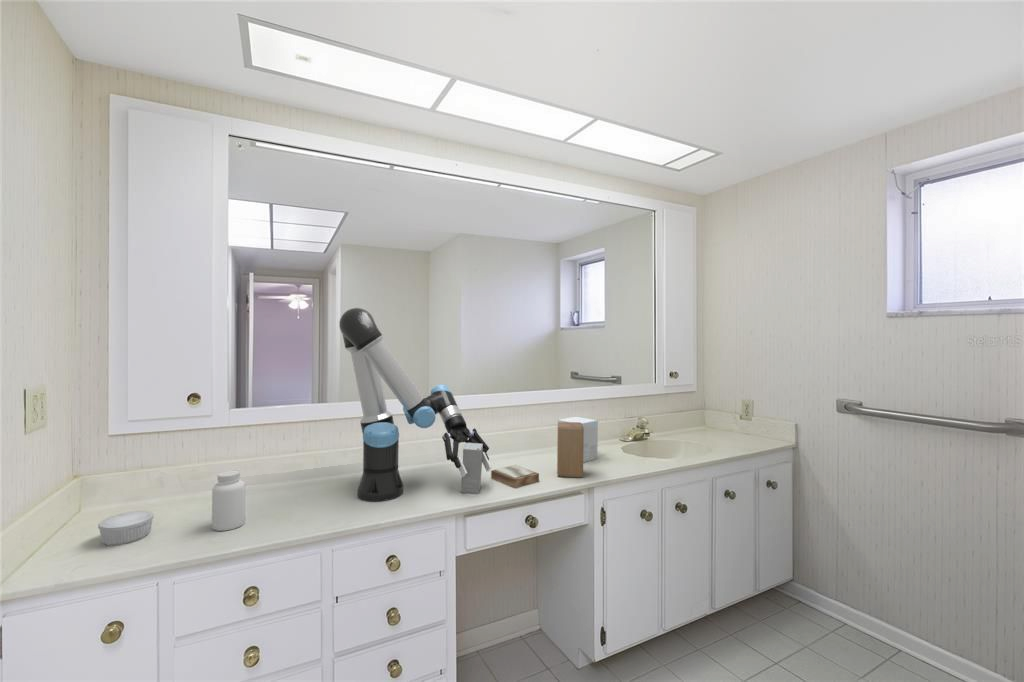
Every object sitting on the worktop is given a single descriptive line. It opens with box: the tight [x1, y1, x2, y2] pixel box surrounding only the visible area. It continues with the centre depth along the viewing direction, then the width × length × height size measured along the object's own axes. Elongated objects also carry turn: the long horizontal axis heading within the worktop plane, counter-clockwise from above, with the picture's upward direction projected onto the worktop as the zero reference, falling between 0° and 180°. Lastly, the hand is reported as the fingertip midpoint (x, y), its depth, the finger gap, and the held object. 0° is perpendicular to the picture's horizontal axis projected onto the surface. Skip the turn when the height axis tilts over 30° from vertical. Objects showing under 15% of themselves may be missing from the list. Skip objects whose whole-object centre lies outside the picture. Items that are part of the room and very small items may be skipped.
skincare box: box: [460, 442, 483, 494], centre depth 156 cm, size 8×7×16 cm
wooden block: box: [556, 422, 584, 479], centre depth 175 cm, size 10×10×20 cm
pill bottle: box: [211, 470, 246, 532], centre depth 125 cm, size 8×8×15 cm
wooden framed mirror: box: [490, 464, 540, 489], centre depth 167 cm, size 12×14×3 cm
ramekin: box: [97, 509, 155, 546], centre depth 117 cm, size 11×11×5 cm
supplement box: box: [556, 416, 599, 464], centre depth 199 cm, size 13×13×18 cm
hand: (477, 472), depth 154 cm, fingers closed on skincare box, 10 cm apart
